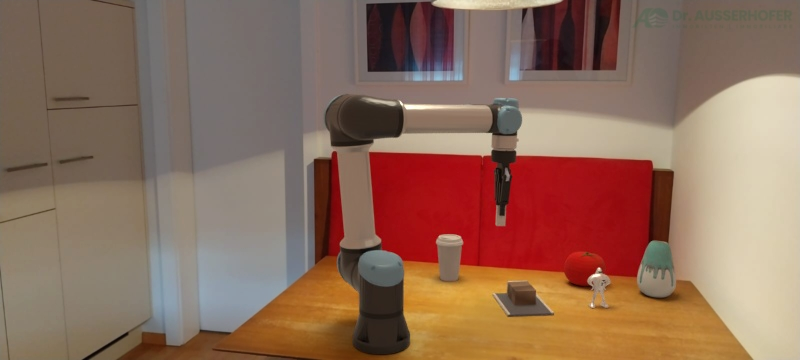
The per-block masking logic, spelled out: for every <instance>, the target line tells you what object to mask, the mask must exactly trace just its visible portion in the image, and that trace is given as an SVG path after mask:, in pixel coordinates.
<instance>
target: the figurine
mask: <svg viewBox="0 0 800 360" xmlns="http://www.w3.org/2000/svg"><path fill="white" fill-rule="evenodd" d="M592 281H593V284H592ZM587 282H588V284H589V285H590V286H591V287H592V288H591V289H590V290H589V291H593V294H592V299H591V302H589V304H588V307H589V308H590V309H595V308H596V304H595V301H596V298H597V295H598V294H599V293H600V297H601V302H600V304H599V305H600V307H602V308H604V309H605V308H606V309H608V308H609V304H608V303H606V300H605V291H607V289H606V287H607V286H608V285H610V284H611V279H610V277H609V276H608V275H607V274H606V273H605V274H602V270H601V268H597V270H596V273H595V274H593V275H591V276H590V277H589V278H588V281H587Z"/></svg>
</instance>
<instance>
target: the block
mask: <svg viewBox="0 0 800 360" xmlns="http://www.w3.org/2000/svg"><path fill="white" fill-rule="evenodd" d="M506 293H507V296H508V297H509V298H510V299H511V301H512V302H513V303H514V305H536V294H537V290H536V289H535V288H534V287H533V285H532V284H531V283H530V282H529V280H507V281H506Z"/></svg>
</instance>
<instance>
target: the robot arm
mask: <svg viewBox="0 0 800 360" xmlns="http://www.w3.org/2000/svg"><path fill="white" fill-rule="evenodd" d="M519 105H520V104H519V100H518V98H512V97H511V98H510V97H507V98H506V97H495V98H494V99H493V103H492V104H485V103H484V104H478V103H469V104H468V103H467V104H433V103H429V104H428V103H425V104H424V103H403V102H402V101H401V100H399V99H392V98H391V99H389V98H383V97H375V96H372V95H371V96H370V95H366V94H354V93H345V94H340V95H336V96H335V97H333V98H332V99H331V100H330V101H329V102H328V103H327V105H326V106H325V109H324V111H323V122H324V123H323V124H324V126H325V128H326V129H327V131H328V132H329V140H330V141H329V142H330V147H331V149H333V150H334V151H336V153H337V154H336V155H337V165H338V166H337V167H338V168H337V169H338V179H339V190H340V199H341V201H340V202H341V211H342V223H343V233H344V234H343V235H344V237H343V238H342V239H341V240H340V242H339V251H340V252H338V254H337V258H336V266H337V268H336V269H337V271H338V273H339V275H340V276H341V278H342V280H344V282H345V283H347V284H348V285H349V286H351V288H352V289H354V291H357V293H358V317H357V320H356V323H355V325H354V330H353V333H352V344H353V347H354V348H355V349H357V350H358V351H360V352H363V353H366V354H371V355H389V354H390V355H391V354H395V353H398V352H401V351H405V349H407V348H408V347H409V346H410V344H411V332H410V329H409V326H408V323H407V321H406V317H405V315H404V313H405V312H404V306H405V305H404V295H405V294H404V292H405V291H404V289H405V288H404V285H405V282H404V281H405V269H404V262H403V259H402V258H401V256H399V255H398V254H396V252H395V253H394V252H391V251H387V250H383V248H382V247H383V246H382V244H383V243H382V238H380V237H379V236H378V235H377V234H376V227H375V226H376V225H375V214H374V212H375V211H374V202H373V200H374V199H373V187H372V176H371V175H372V174H371V164H370V162H371V161H370V151H369V150H371V149H370V148H372V146H373V145H374V143H375V142H374V141H375V140H380V139H391V138H392V139H394V138H395V139H397V138H400V137H401V136H402V135H403V134H416V135H417V134H491V148H492V150H491V153H490V160H491V162H492V163H494V164H495V163H496V167H495V168H494V169H493V175H494V176H493V177H494V201H495V206H496V207H495V208H496V210H495V226H496V227H506V221H507V220H506V219H507V205H509V202H510V194H511V193H510V192H511V186H512V185H511V184H512V180H513V174H511V173H512V170H511V168H510V164H515V163H516V161H517V151H516V150H515V149H517V146H518V145H517V143H518V142H519V138H518V132H519V129H520V128H521V127H522V124H523V116H522V113H521V111H520V109H519V108H520V107H519Z"/></svg>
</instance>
